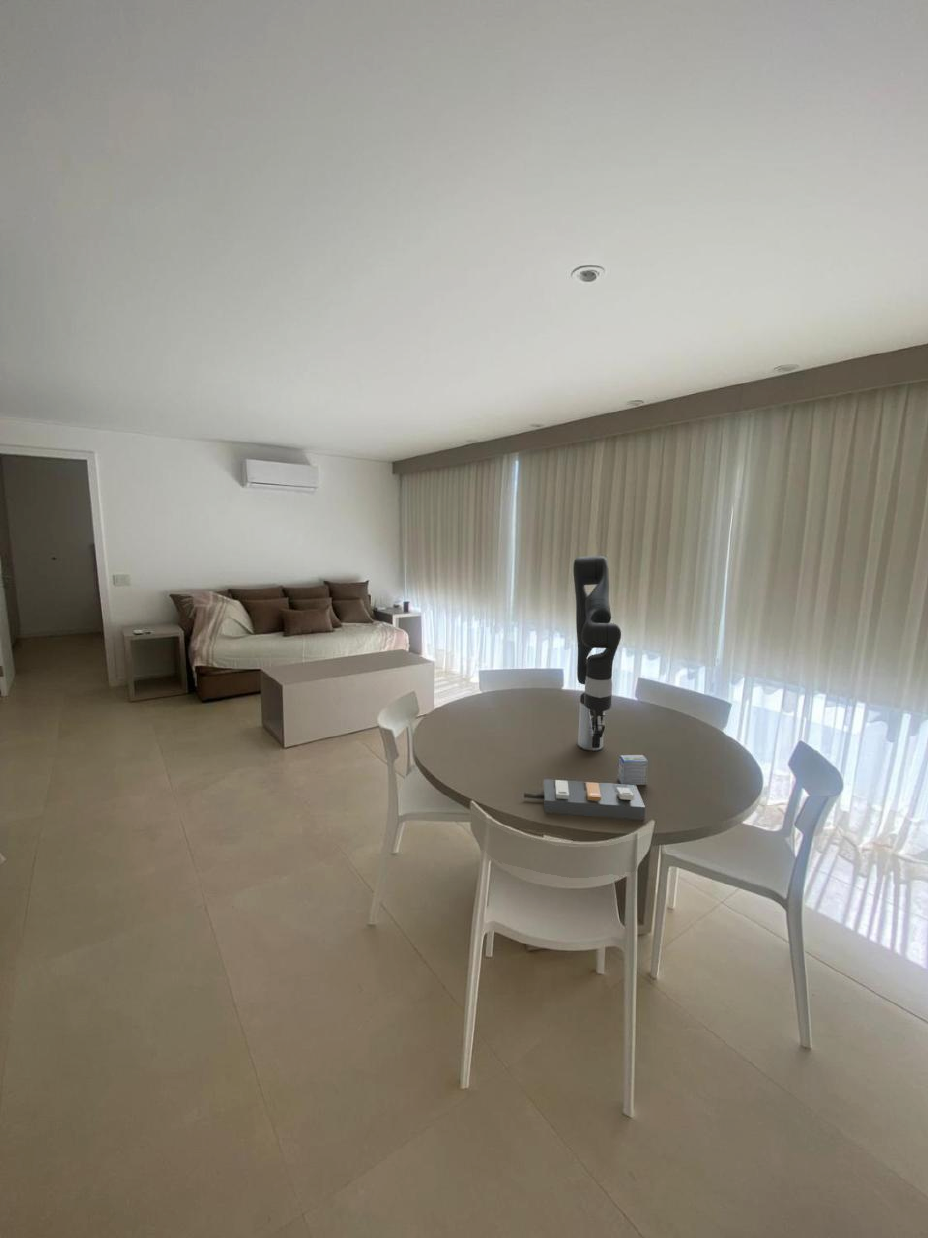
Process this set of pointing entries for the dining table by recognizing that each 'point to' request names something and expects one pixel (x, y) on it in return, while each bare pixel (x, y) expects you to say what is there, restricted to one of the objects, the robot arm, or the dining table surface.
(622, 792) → the rocker
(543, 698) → the dining table surface
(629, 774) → the medicine box
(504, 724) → the dining table surface
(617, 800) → the power strip
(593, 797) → the rocker
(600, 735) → the robot arm
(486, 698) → the dining table surface
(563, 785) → the plate
